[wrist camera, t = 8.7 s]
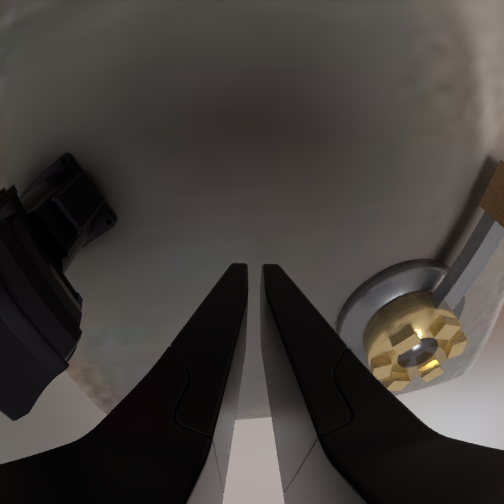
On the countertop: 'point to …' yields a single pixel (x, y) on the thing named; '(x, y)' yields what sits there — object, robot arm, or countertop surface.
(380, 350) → the crank handle
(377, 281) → the flange
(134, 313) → the countertop surface
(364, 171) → the countertop surface
